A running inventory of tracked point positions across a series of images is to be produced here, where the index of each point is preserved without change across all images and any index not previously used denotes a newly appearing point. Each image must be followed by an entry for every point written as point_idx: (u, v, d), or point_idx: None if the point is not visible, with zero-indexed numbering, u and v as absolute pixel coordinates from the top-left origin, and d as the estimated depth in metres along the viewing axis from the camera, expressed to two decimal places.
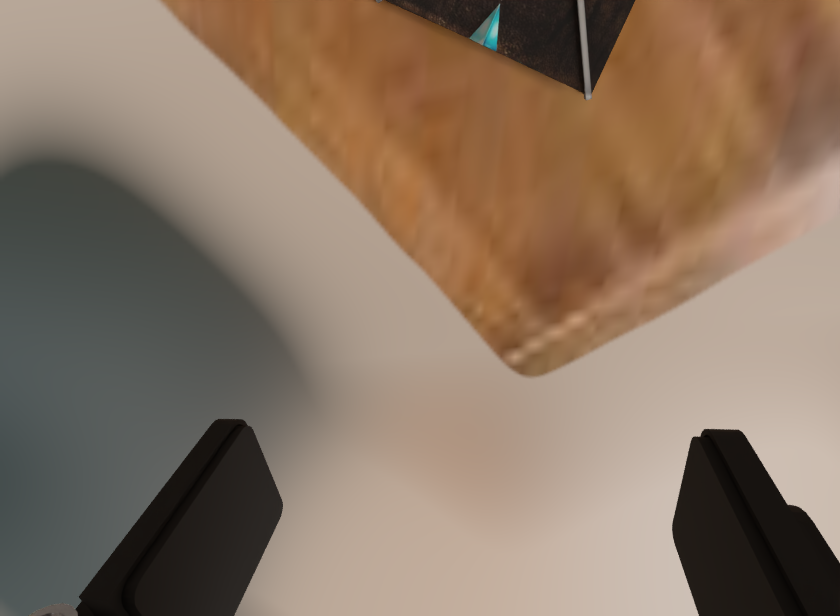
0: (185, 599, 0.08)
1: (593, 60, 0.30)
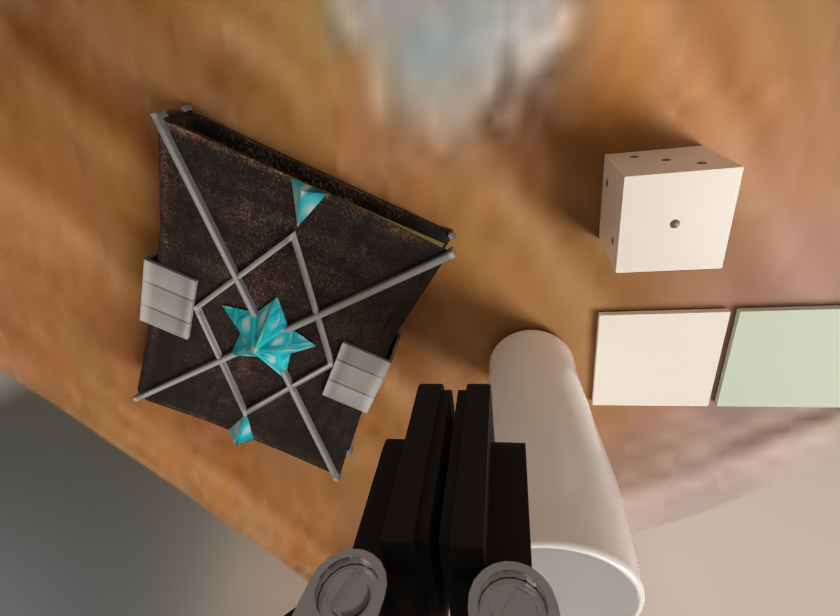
0: None
1: (334, 456, 0.34)
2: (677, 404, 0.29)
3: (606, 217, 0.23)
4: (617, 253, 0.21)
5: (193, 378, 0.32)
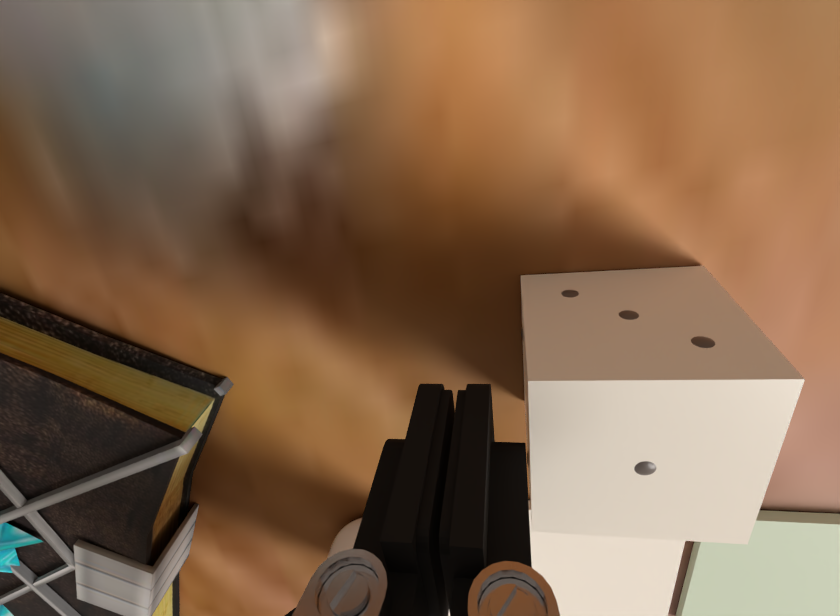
0: None
1: None
2: None
3: (525, 393, 0.12)
4: (531, 502, 0.10)
5: None
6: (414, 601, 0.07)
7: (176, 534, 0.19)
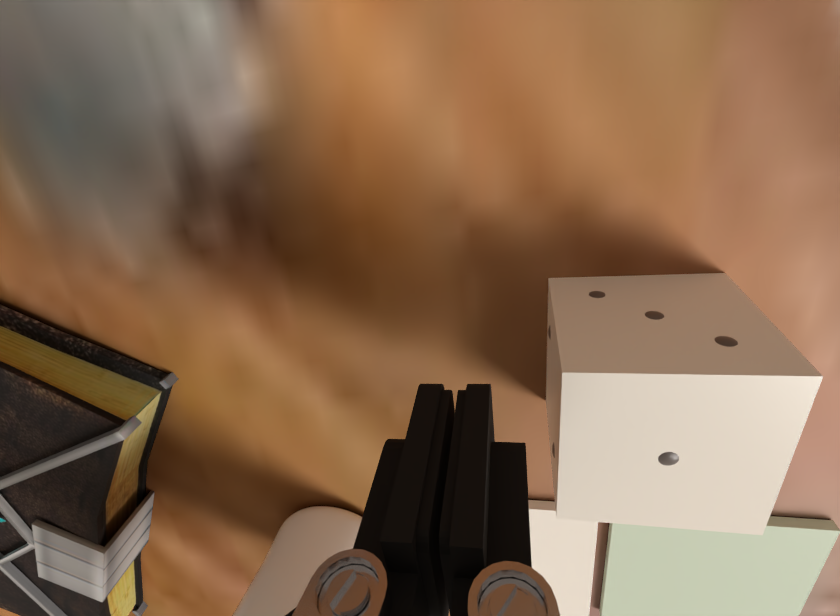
0: None
1: None
2: None
3: (549, 389, 0.13)
4: (557, 489, 0.11)
5: None
6: (414, 601, 0.07)
7: (130, 518, 0.21)
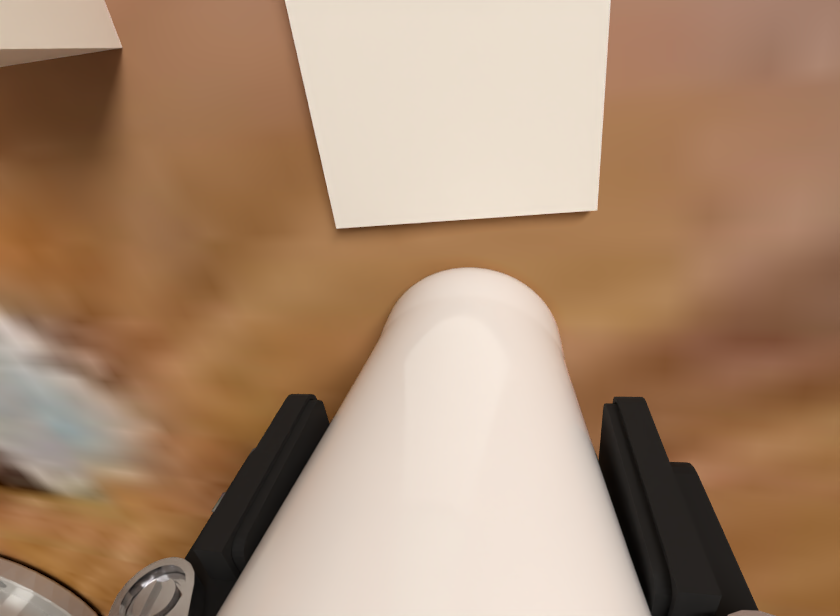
0: None
1: None
2: None
3: (15, 57, 0.11)
4: None
5: None
6: None
7: None
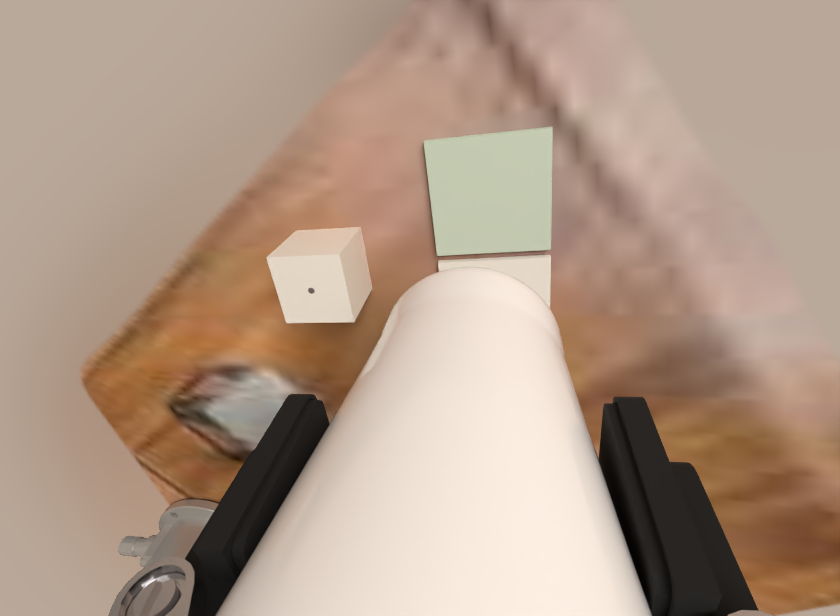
0: None
1: None
2: (548, 283, 0.29)
3: None
4: (339, 321, 0.28)
5: None
6: None
7: None
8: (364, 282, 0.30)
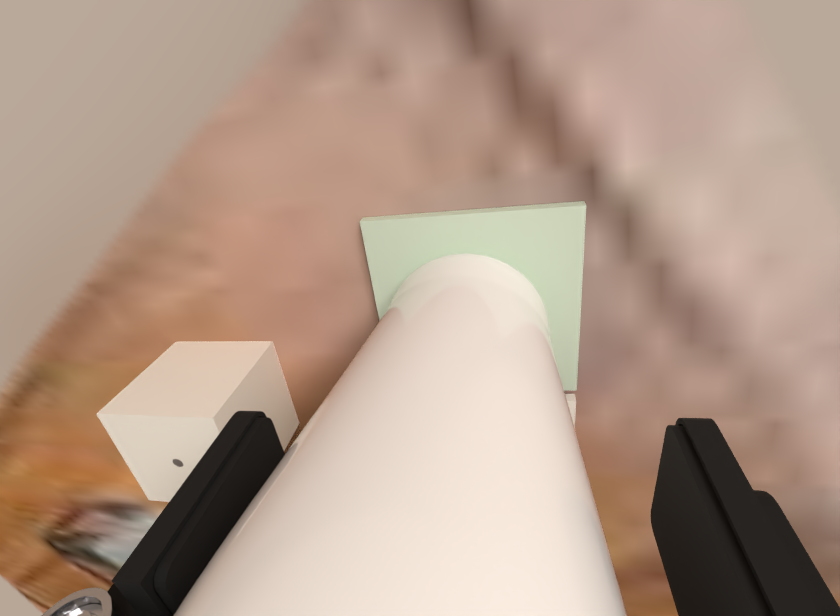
0: None
1: None
2: None
3: None
4: None
5: None
6: None
7: None
8: (280, 425, 0.19)
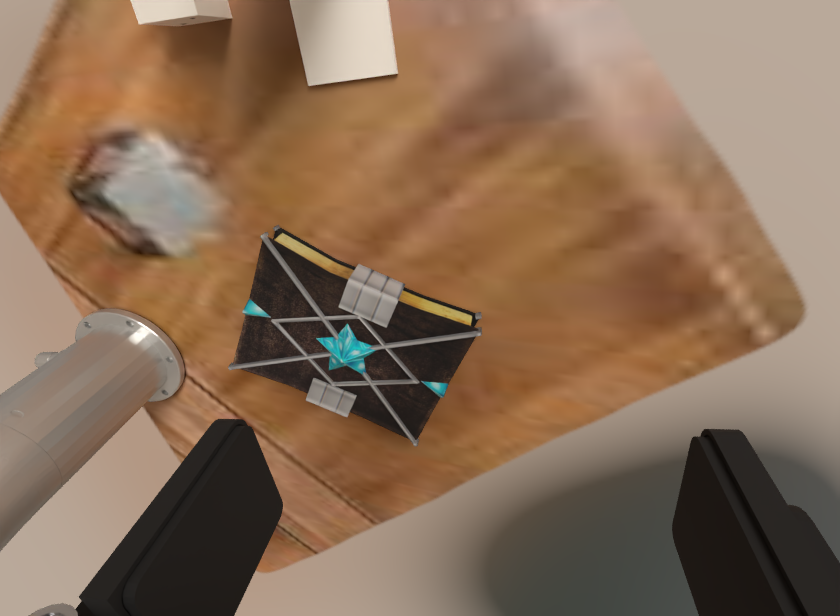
0: (185, 599, 0.08)
1: (455, 330, 0.41)
2: None
3: (200, 20, 0.33)
4: (185, 16, 0.30)
5: (392, 404, 0.47)
6: None
7: (353, 271, 0.41)
8: None
